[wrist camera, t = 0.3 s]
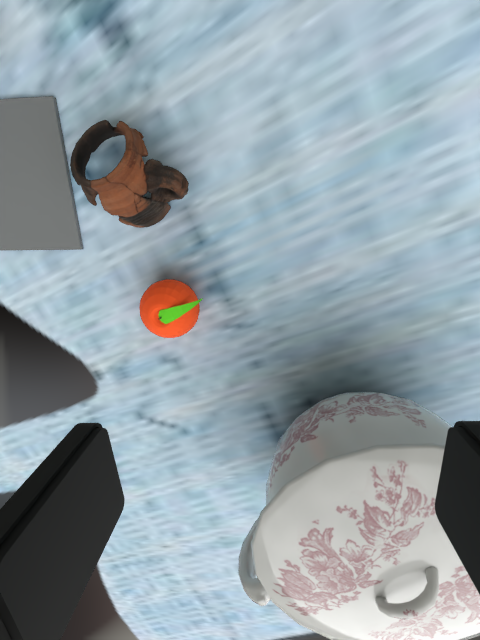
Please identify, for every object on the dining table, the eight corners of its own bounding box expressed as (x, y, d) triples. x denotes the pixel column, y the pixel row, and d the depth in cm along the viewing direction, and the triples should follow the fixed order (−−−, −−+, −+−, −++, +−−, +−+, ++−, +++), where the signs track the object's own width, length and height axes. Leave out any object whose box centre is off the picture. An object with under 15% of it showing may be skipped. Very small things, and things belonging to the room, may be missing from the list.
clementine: (198, 262, 38) (184, 273, 31) (220, 313, 40) (211, 333, 33) (142, 285, 40) (117, 300, 33) (166, 332, 42) (146, 356, 35)
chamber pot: (484, 369, 40) (693, 522, 20) (418, 523, 49) (519, 729, 29) (266, 340, 41) (265, 458, 21) (242, 495, 50) (227, 677, 31)
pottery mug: (110, 232, 38) (53, 197, 31) (126, 162, 39) (74, 110, 32) (198, 236, 35) (157, 197, 27) (212, 158, 36) (178, 99, 28)
